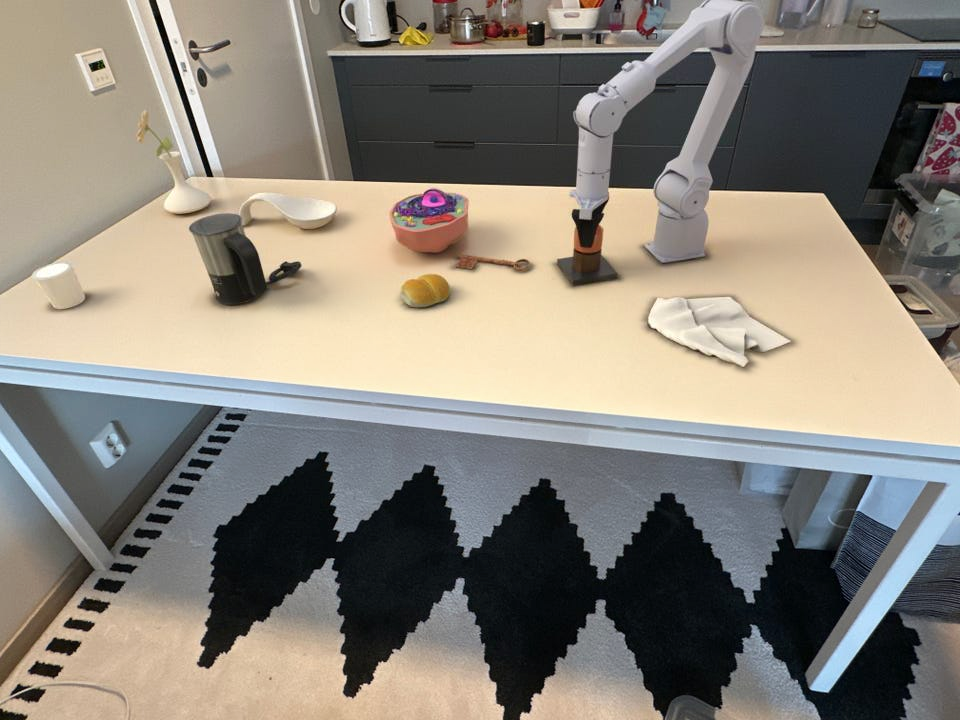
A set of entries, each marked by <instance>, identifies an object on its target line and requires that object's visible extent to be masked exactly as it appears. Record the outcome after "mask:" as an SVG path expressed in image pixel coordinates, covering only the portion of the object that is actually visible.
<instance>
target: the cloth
mask: <svg viewBox="0 0 960 720" xmlns="http://www.w3.org/2000/svg"><path fill="white" fill-rule="evenodd" d="M647 324H648V326H649V328H650V329H656V330H657V332H658V333H659V334H661V335H663V336H664V337H666V338H667V339H669V340H671V341H674V342H676V343H677V344H679V345H680V346H685V347H688V348H689V349H690V350H693V351H696V352H700V353H702V354H704V355H705V356H708V357H713V358H717V359H720V360H722V361H724V362H726V363H731V364H737V365H739V366H740V367H743V368H744V367H745V366H746V365H747V364H748V363H749V360H748V358H747V357H746V356H745V350H752V351H756V352H760V353H765V352H769V351H771V350H774V349H777V348H780V347H782V346H784V345H786V344H789V343H791V340H790V339H788V338H786V337H785V336H783V335H782V334H780V333H778V332H776V331H774V330H773V329H772V328H769V327H768V326H766V325H764V324H762V323H761V322H759V321H758V320H756V319H754V318H752V317H750V315H749V314H748V313H747V311H745V309H744V308H743V306H742V305H741V304H740V303H739V302H737V301H736V300H734V299H733V297H732V296H724V297H723V296H720V297H699V298H685V297H679V296H675V297H674V296H673V297H672V298H666V299H665V298H663V297H657V298H656V300H655V302H654V303H653V306H652V307H651V309H650V311H649V314H648V316H647Z"/></svg>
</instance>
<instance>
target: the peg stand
mask: <svg viewBox="0 0 960 720" xmlns="http://www.w3.org/2000/svg"><path fill="white" fill-rule="evenodd" d="M582 254H586V255H591V254H593V253H584V252H582ZM556 265H557V266H558V268H559V269H560V270H561V272H562V274H563V275H564V276H565V278H566V279H567V280H568V282H569V283H570V285H571V286H572V287H575V286H580V285H588V284H593V283H598V282H605V281H612V280H617V279H618V272H617V270H616V269H615V268H614V267H613V266H612V265H611V264H610V263H609V261H607V259H606V258H605V257H604V256H603V254H601V263H600V268H599V269H598V270H597V271H595V272H589V273H587V272H580V271H577V270H575V269H574V267H573V256H567V257H562V258H557V259H556Z"/></svg>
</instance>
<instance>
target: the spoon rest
mask: <svg viewBox="0 0 960 720" xmlns="http://www.w3.org/2000/svg"><path fill="white" fill-rule="evenodd" d="M255 202H265V203H266V204H269V205H271V206H272V207H273V208H274V209H275V210H276V211H278V213H279V214H281V215H282V216H283V217H284V218H285V219H286V220H287V222H289V223H291V224H292V225H294V226H296V227H298V228H300V229H303V230H316V229H320V228H321V227H323V226H325V225H327V224H328V223H330V222H331V221H332V220H333V218H334V217H335V215H336V214H337V212H338V208H337V206H336V204H334V203H333V202H330V201H328V200H323V199H318V198H312V197H311V198H309V197H302V196H297V195H290V194H284V193H277V192H268V191H267V192H265V191H264V192H258V193H255V194H252V195H251V196H250V197H249V198H248V199H246V200H245V201H244V202H243V203H242V204H241V205H240V208H239V211H238V215H240V216H241V217H242V222H241V223H242V226H245V225H247V224H248V223H249V222H250V221H251V220H252V213H251V205H252V204H254V203H255Z"/></svg>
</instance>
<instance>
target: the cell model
mask: <svg viewBox="0 0 960 720" xmlns="http://www.w3.org/2000/svg"><path fill="white" fill-rule="evenodd" d="M469 202H470V200H469V198H468V197H466V196H465V195H463V194H460V193H457V192H444V191H443V190H442V189H439V188H435V187H433V188H432V187H431V188H429V189H427V190H425V191H424V192H423V193H418V194H417V193H416V194H412V195H409V196H407V197H405V198H403V199H401V200H400V201H398V202H395V203H394V204H393V205H392V207H391V209H390V210H389V215H388V216H389V220H390V224H391V226H392V227H391V228H392V229H393V231H394V236H395V239H396V241H397V242H398V243H399V244H400V245H402V246H404V247H405V248H407V249H410V250H412V251H414V252H417V253H433V254H436V253H437V254H438V253H441V252H444V250H446V249H447V248H449V247H450V246H452V245H453V244H455V243H457V242H458V241H460V240H461V239H462V237H464V235H466V233H467V232H468V229H469V205H470V203H469Z"/></svg>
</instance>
